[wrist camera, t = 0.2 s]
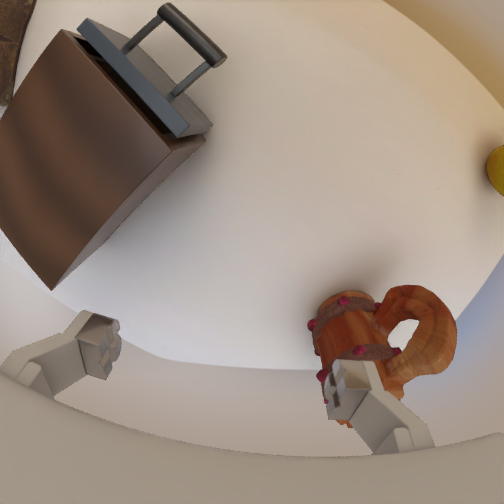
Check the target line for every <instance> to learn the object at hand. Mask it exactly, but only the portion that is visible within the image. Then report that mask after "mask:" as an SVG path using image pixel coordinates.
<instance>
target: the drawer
mask: <svg viewBox="0 0 504 504" xmlns="http://www.w3.org/2000/svg"><path fill="white" fill-rule="evenodd" d="M158 15H159V16H158ZM163 21H165V22H166V23H167V24H168V25H169V26H171V27H172V28H173V29H174V30H175V31H176V32H177V33H178V34H179V35H180V36H181V37H182V38H183V39H184V40H185V41H186V42H187V43H188V44H189V45H190V46H191V47H192V48H193V49H194V50H195V51H197V52H198V53H199V54H200V55H201V56H202V58H203V59H204V60H205V62H204V63H202V64H201V65H200V66H199V67H198V68H196V69H195V70H194V71H193V72H192V73H191V74H190V75H188V76H187V77H186V78H185V79H184V80H183V81H182V82H180V83H179V84H178V85H176V84H175V82H174V81H173V80H172V79H171V78H170V77H169V76H168V75H167V74H166V73H165V72H164V71H163V70H162V69H161V68H160V67H159V66H158V65H157V64H156V63H155V62H154V61H153V60H152V59H151V58H150V57H149V56H148V55H147V54H146V53H145V52H144V51H143V50H142V49H141V48H140V47H139V46H138V44H139V43H140V42H141V41H142V40H143V39H144V38H145V37H146V36H147V35H148V34H149V33H150V32H152V31H153V30H154V29H155V28H156V27H157V26H158V25H159V24H161V23H162V22H163ZM77 31H78V32H79V33H80V34H81V35H82V36H83V37H84V38H85V39H86V40H87V41H88V42H89V43H90V44H91V45H92V46H93V47H94V49H95V50H96V51H97V52H98V53H99V54H100V55H101V56H102V57H103V58H104V59H103V58H100V57H96V56H93V55H90V56H91V57H92V58H93V59H94V60H95V61H96V62H97V63H98V64H99V65H100V66H101V68H102V69H103V70H104V71H105V72H106V73H107V74H108V75H109V76H110V77H111V78H112V80H113V81H114V82H115V83H116V84H117V85H118V86H119V87H120V88H121V89H122V90H123V92H124V93H125V94H126V95H127V96H128V97H129V98H130V99H131V100H132V101H133V103H134V104H135V105H136V106H137V107H138V108H139V109H140V110H141V111H142V112H143V114H144V115H145V116H146V117H147V118H148V119H149V120H150V121H151V122H152V124H153V125H154V126H155V127H156V128H157V129H158V130H159V131H160V132H161V134H162V135H163V136H164V137H165V138H166V139H167V140H168V141H169V140H174V139H179V138H184V137H185V136H190V135H196V134H202V133H205V132H206V131H207V130H209V129H210V128H211V127H212V126H213V124H212V122H211V121H210V120H209V119H208V118H207V117H206V116H205V115H204V114H203V113H202V111H201V110H200V109H199V108H198V107H197V106H196V105H195V104H194V103H193V102H192V101H191V100H190V98H189V97H188V96H187V95H186V94H185V93H184V91H185V90H186V89H187V88H188V87H189V86H190V85H192V84H193V83H194V82H195V81H196V80H197V79H198V78H200V77H201V76H202V75H203V74H204V73H206V72H207V71H208V70H209V69H210V68H211V67H212V68H216V67H218V66H220V65H221V64H222V63H224V62H225V61H226V59H227V58H228V57H227V55H226V54H225V53H224V52H223V51H222V50H221V49H220V48H219V47H218V46H217V45H216V44H215V43H214V42H213V41H212V40H211V39H210V38H209V37H208V36H207V35H206V34H205V33H203V32H202V31H201V30H200V29H199V28H198V27H197V26H196V25H195V24H194V23H193V22H192V21H191V20H190V19H188V18H187V17H186V16H185V15H184V14H183V13H182V12H181V11H179V10H178V9H177V8H176V7H175V6H174V5H173V4H171V3H166V4H164V5H162V6H161V7H160V8H159V9H158V11H157V16H156V17H154V18H153V19H152V20H151V21H150V22H149V23H148V24H147V25H145V26H144V27H143V28H142V29H141V30H140V31H139V32H138V33H137V34H136V35H135V36H134V37H133V38H132V39H130V38H128V37H126V36H124V35H122V34H120V33H118V32H116V31H114V30H112V29H110V28H108V27H106V26H104V25H101V24H99V23H97V22H95V21H93V20H91V19H89V18H86V19H85V20H84V21H83V22H82V24H81V25H80V26H79V27H78V28H77Z"/></svg>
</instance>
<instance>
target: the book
mask: <svg viewBox="0 0 504 504" xmlns="http://www.w3.org/2000/svg"><path fill="white" fill-rule="evenodd" d="M35 3H36V0H0V106H5V105H9V103H10V101H11V96H12V91H13V85H14V78H15V71H16V65H17V60H18V55H19V50H20V46H21V43H22V39H23V35H24V32H25V29H26V26H27V24H28V22H29V19H30V17H31V14H32V12H33V9H34V6H35Z"/></svg>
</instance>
